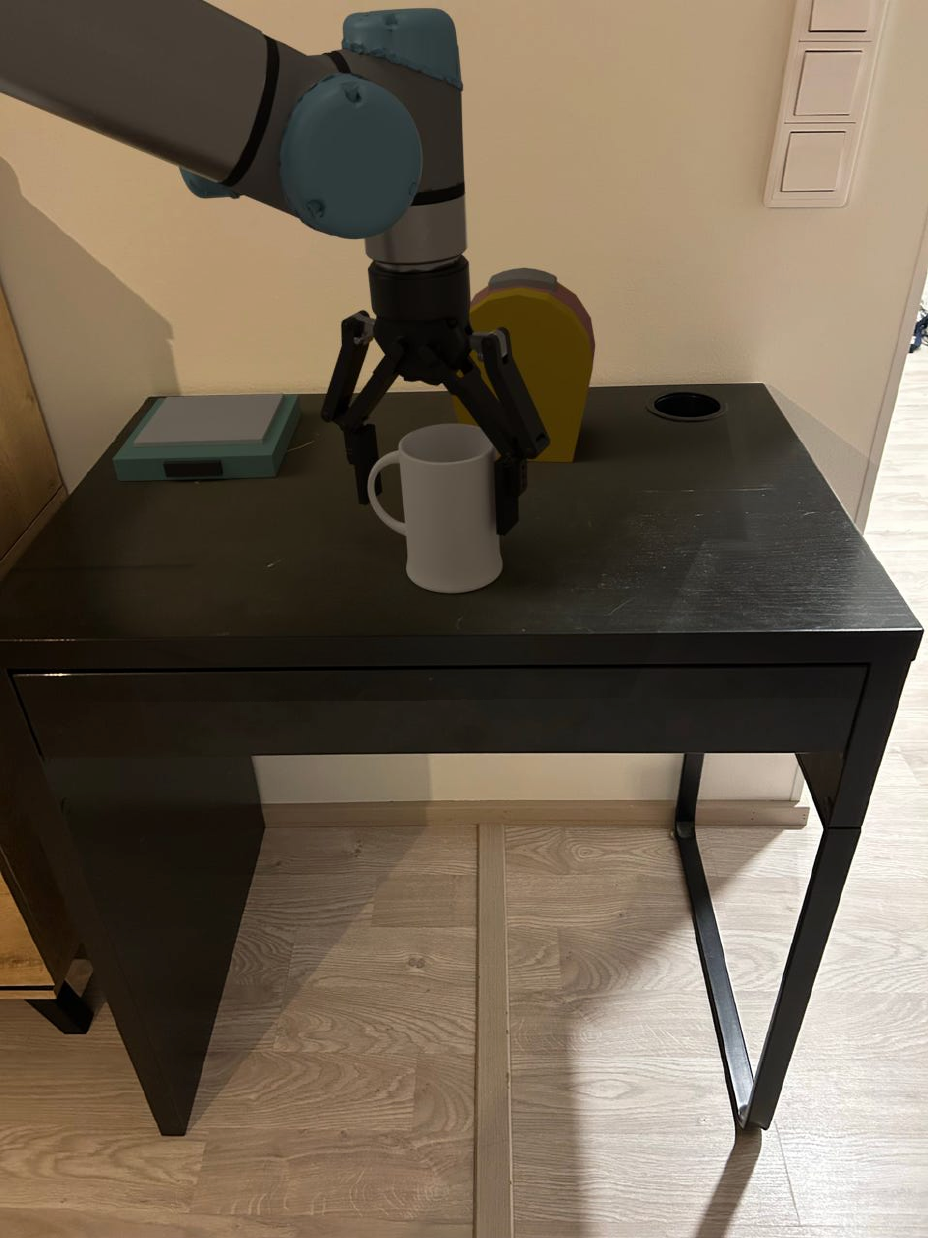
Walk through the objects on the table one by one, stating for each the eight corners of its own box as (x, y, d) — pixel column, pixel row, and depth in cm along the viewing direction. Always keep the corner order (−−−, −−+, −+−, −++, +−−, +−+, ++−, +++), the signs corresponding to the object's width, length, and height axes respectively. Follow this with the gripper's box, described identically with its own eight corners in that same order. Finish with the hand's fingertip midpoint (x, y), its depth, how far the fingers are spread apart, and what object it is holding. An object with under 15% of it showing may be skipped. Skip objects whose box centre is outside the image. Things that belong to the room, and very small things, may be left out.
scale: (116, 484, 101) (108, 456, 100) (163, 418, 116) (157, 393, 114) (274, 479, 101) (269, 451, 99) (301, 414, 115) (298, 388, 113)
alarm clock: (592, 431, 108) (598, 262, 97) (589, 462, 101) (595, 285, 91) (461, 428, 110) (454, 263, 99) (450, 458, 103) (440, 285, 93)
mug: (356, 576, 84) (341, 450, 77) (401, 531, 90) (390, 411, 84) (479, 602, 80) (474, 472, 73) (517, 553, 86) (515, 429, 79)
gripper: (595, 257, 68) (588, 520, 80) (310, 233, 78) (342, 469, 90) (552, 287, 62) (551, 563, 74) (252, 257, 73) (294, 504, 85)
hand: (436, 512), depth 82 cm, fingers open, 13 cm apart
